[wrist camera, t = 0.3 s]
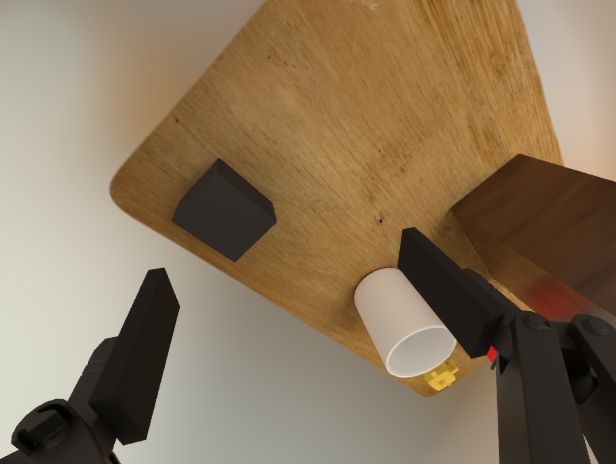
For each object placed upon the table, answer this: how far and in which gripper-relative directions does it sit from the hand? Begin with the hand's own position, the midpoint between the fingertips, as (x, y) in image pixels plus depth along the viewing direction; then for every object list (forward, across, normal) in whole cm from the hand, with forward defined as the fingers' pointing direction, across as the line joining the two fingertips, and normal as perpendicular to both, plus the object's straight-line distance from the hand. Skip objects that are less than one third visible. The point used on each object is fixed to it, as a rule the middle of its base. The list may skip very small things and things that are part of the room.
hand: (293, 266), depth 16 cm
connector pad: (+15, -4, -2) cm, 16 cm away
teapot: (+16, +26, -38) cm, 49 cm away
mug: (+16, +16, -19) cm, 29 cm away
